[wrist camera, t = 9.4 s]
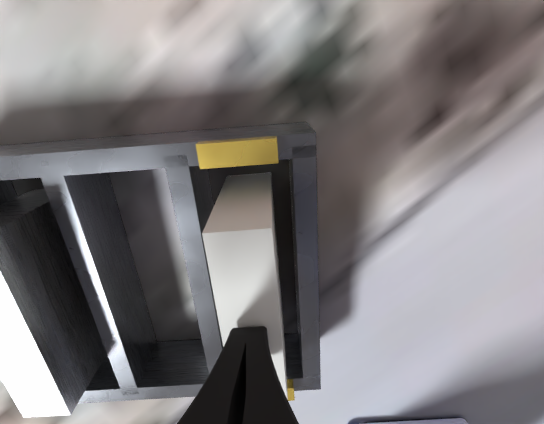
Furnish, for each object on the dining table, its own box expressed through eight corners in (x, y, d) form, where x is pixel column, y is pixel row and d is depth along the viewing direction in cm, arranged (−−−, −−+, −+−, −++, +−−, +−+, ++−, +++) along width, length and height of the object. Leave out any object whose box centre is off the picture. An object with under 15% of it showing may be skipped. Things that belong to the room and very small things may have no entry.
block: (270, 171, 17) (272, 228, 11) (283, 315, 21) (289, 420, 15) (227, 175, 17) (201, 233, 11) (247, 318, 21) (237, 423, 15)
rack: (306, 121, 16) (325, 144, 10) (313, 343, 22) (327, 433, 16) (-23, 147, 16) (-173, 182, 11) (70, 358, 22) (4, 450, 17)
